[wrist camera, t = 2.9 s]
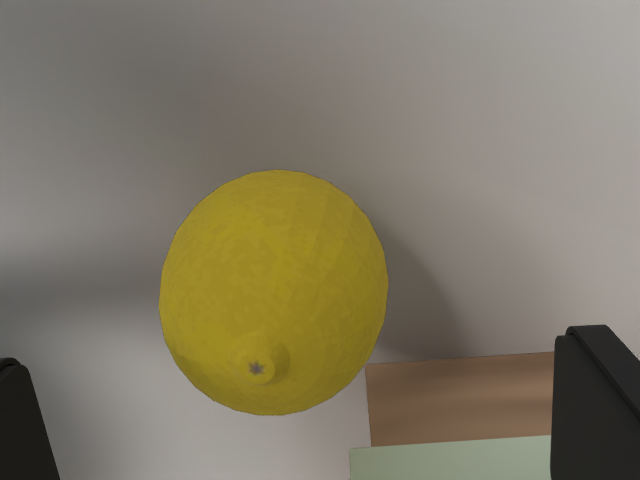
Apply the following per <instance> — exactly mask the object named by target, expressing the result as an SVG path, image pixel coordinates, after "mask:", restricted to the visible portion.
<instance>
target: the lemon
mask: <svg viewBox="0 0 640 480" xmlns="http://www.w3.org/2000/svg"><path fill="white" fill-rule="evenodd" d="M388 284H389V282H388V273H387V268H386V262H385V257H384V251H383V248H382V245H381V243H380V241H379V239H378V237H377V234H376V232H375V230H374V228H373V226H372V224H371V222H370V220H369V219H368V217H367V216H366V215H365V214H364V213H363V211H362V210H361V209H360V208H359V207H358V206H357V204H356V203H355V202H354V201H353V200H352V199H351V198H350V197H349V196H348V195H347V194H345V193H344V192H342V191H341V190H339V189H338V188H337V187H335V186H334V185H332V184H331V183H329V182H328V181H325V180H323V179H320V178H317V177H314V176H312V175H309V174H306V173H304V172H296V171H287V170H278V169H277V170H269V171H261V172H254V173H249V174H247V175H244V176H242V177H239V178H237V179H235V180H232V181H230V182H227V183H225V184H223V185H221V186H220V187H219V188H217V189H216V190H215V191H213V192H212V193H211V194H209V195H208V196H207V197H206V198H204V199H203V200H202V201H200V202H199V203H198V204H197V205H196V206H195V207H194V209H193V210H192V211H191V213H190V214H189V215H188V217H187V218H186V219H185V220H184V222H183V223H182V224H181V226H180V227H179V228H178V230H177V232H176V233H175V236H174V238H173V241H172V243H171V246H170V249H169V251H168V254H167V256H166V259H165V262H164V265H163V269H162V275H161V285H160V297H159V313H160V319H161V324H162V329H163V335H164V338H165V342H166V344H167V346H168V348H169V350H170V352H171V354H172V356H173V359H174V361H175V363H176V364H177V366H178V367H179V368H180V370H181V371H182V372H183V373H184V374H185V375H186V377H187V378H188V379H189V380H190V381H191V383H192V384H193V385H194V386H195V387H196V388H197V389H199V390H200V391H201V392H203V393H204V394H205V395H207V396H208V397H209V398H211V399H212V400H213V401H216V402H218V403H220V404H222V405H225V406H227V407H229V408H231V409H233V410H236V411H241V412H246V413H250V414H255V415H286V414H291V413H296V412H300V411H305V410H307V409H309V408H311V407H313V406H315V405H318V404H320V403H322V402H324V401H326V400H328V399H330V398H332V397H333V396H334V395H335V394H337V393H338V392H339V391H340V390H342V389H343V388H344V387H345V386H347V385H348V384H349V383H350V382H351V381H352V380H353V379H354V378H355V376H356V375H357V374H358V372H359V371H360V370H361V368H362V367H363V366H364V364H365V363H366V362H367V360H368V359H369V357H370V355H371V353H372V351H373V349H374V346H375V344H376V341H377V339H378V336H379V333H380V331H381V328H382V325H383V323H384V319H385V315H386V305H387V294H388Z"/></svg>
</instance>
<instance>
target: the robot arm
mask: <svg viewBox="0 0 640 480" xmlns="http://www.w3.org/2000/svg"><path fill="white" fill-rule="evenodd" d="M550 475H551V480H640V361H639V360H638V359H637V358H636V357H635V356H634V354H633V353H632V352H631V351H630V350H629V349H628V348H627V347H626V346H625V345H624V343H623V342H622V341H621V340H620V339H619V338H618V337H617V336H616V335H615V334H614V333H613V331H612V330H611V329H610V328H609V327H608V326H606V325H587V326H569V327H568V328H567V331H566V334H565V335H562V336H557V337H556V340H555V351H554V376H553V401H552V426H551V451H550ZM0 480H60V477H59V474H58V470H57V467H56V463H55V460H54V456H53V453H52V450H51V446H50V443H49V439H48V436H47V432H46V429H45V425H44V422H43V418H42V415H41V411H40V408H39V404H38V401H37V398H36V394H35V391H34V387H33V384H32V380H31V377H30V373H29V371H28V369H27V368H26V367H25V366H23V365H20V363H19V362H18V361H17V360H16V359H14V358H0Z"/></svg>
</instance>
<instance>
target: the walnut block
mask: <svg viewBox="0 0 640 480" xmlns="http://www.w3.org/2000/svg"><path fill="white" fill-rule="evenodd" d="M365 374H366V386H367V398H368V410H369V423H370V435H371V447H380V446H395V445H410V444H425V443H440V442H455V441H470V440H485V439H499V438H514V437H529V436H544V435H551V426H552V401H553V376H554V352H542V353H527V354H513V355H498V356H483V357H469V358H454V359H440V360H425V361H411V362H396V363H381V364H367V365H365Z"/></svg>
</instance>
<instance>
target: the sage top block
mask: <svg viewBox="0 0 640 480" xmlns="http://www.w3.org/2000/svg"><path fill="white" fill-rule="evenodd" d="M550 451H551V435H544V436H529V437H514V438H499V439H485V440H470V441H455V442H440V443H425V444H410V445H395V446H380V447H365V448H350V449H349V461H350V480H551V475H550Z"/></svg>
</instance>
